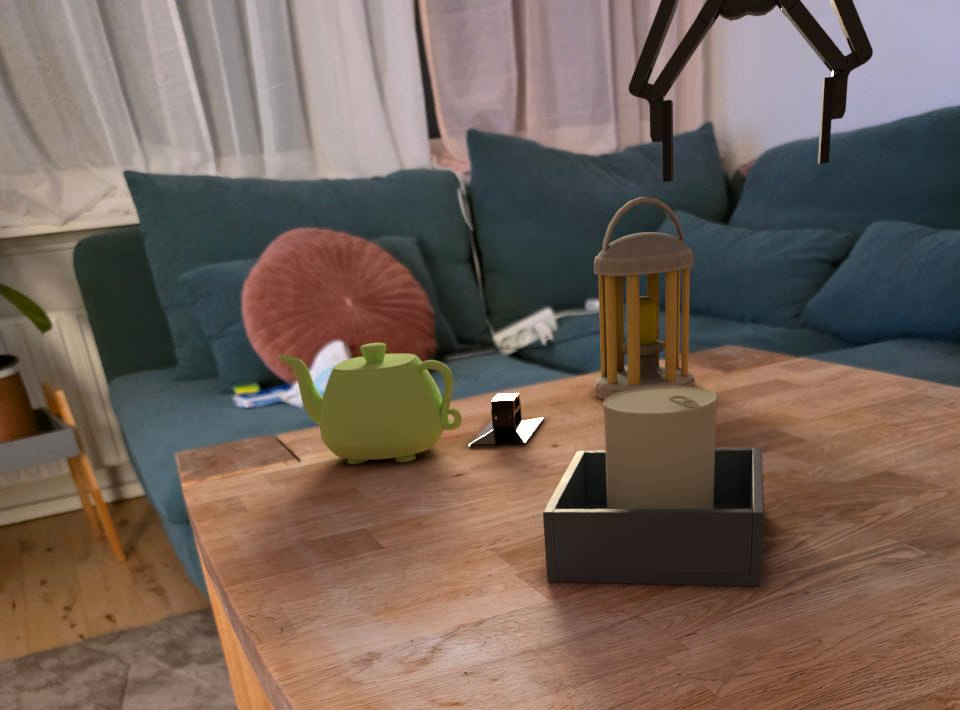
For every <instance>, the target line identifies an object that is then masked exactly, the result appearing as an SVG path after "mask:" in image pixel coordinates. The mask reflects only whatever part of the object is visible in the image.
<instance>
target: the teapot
mask: <svg viewBox="0 0 960 710" xmlns="http://www.w3.org/2000/svg"><path fill="white" fill-rule="evenodd" d="M359 350H360V352H361V355H362V356H355V357H351V358H347V359H345V360H342V361H340V362H338V363H337V364H335V365H334V366H333V368H332V369H331V371H330V374H329V377H328V379H327V383H326V386H325V389H324V392H323V395H322V394H321V393H320V392H319V391H318V389H317V388H316V385H315V382H314V381H313V376H312V374H311V372H310V369H309V368H308V366H307V364H306V363H305V362H304V361H303V360H302V359H300V358H298V357H295V356H290V355H283V354H281V355H280V354H278V355H277V358H278V359H280V360H281V361H283V363H285V364H287V365H288V366H289V367H290V369H291V370H292V372H293V374H294V376H295V377H296V381H297V384H298V388H299V393H300V398H301V401H302V402H301V403H302V405H303V408H304V410H305V412H306V414H307V415H308V417H309V418H310V419H311V420H312V421H313V422H314V423H315V424H317V425H318V426H319V430H320V431H319V432H320V438H321V441H322V442H323V444H324V445H325V446H326V447H327V449H329V450H330V452H332V453H333V454H334V455H335V456H336V457H338V458H341V459H347V463H348V464H351V465H357V464H363V463H366V462H367V461H368V460H369V461H370V460H386V459H393V458H394V460H395V462H397V463H406V462H412V461H414V460H416V459H417V457H416V454H419V453H420V454H421V453H423V452H425V451H427V450H429V449H431V448H433V447H434V446H435V445H436V444H437V443H438V442H439V439H440V438H441V436H442V435H443V432H444V430H445V431H454V430H457V429H458V428H459V427H460V426H461V424H462V421H463V419H462V417H463V416H462V415H461V414H462V413H461V412H460V411H459V410H458V409H456V408H450V407H451V402H452V398H453V392H454V384H455V382H454V375H453V372H452V370H451V369H450V368H449V366H448V365H447V364H445V363H443V362H441V361H438V360H435V359H429V360H424V361H422V360H421V359H420V358H419V356H418V355H416V354H413V353H405V352H404V353H396V352H395V353H386V352H387V343H384V342H372V343H371V342H370V343H366V344H362V345H361V346H360V347H359ZM429 370H435V371H438V372H439V373H440V374H441V376H442V377H443V382H444V384H443V385H444V388H443V395H442V394H441V392H440V389H439V388H438V385H437V383H436V382H435V380H434V378H433V376H432V375H431V373H430V371H429ZM449 415H451V416H452V417H453V419H454V420H453V421H450V420H449Z"/></svg>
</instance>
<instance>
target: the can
mask: <svg viewBox="0 0 960 710" xmlns="http://www.w3.org/2000/svg"><path fill="white" fill-rule="evenodd" d="M718 402H719V396H718V394H717V393H716V392H714V391H713V390H709V389H707V388H706V389H705V388H702V387H696V386H695V387H686V386H659V387H646V388H639V389H633V390H628V391H624V392H620V393H617V394H614V395H612V396H610V397H608V398H606V399H603V401H602V408H603V423H604V424H603V425H604V443H605V446H604V447H605V450H606V480H607V509H713V504H714V465H715V448H716V438H717V437H716V435H717V434H716V432H717V412H718Z"/></svg>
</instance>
